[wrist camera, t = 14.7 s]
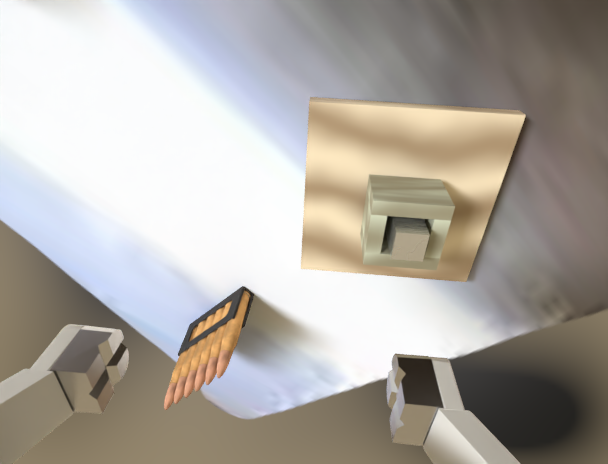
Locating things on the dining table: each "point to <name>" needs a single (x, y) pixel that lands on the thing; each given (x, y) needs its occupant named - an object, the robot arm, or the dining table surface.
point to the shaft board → (404, 163)
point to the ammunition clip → (209, 345)
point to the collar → (404, 203)
